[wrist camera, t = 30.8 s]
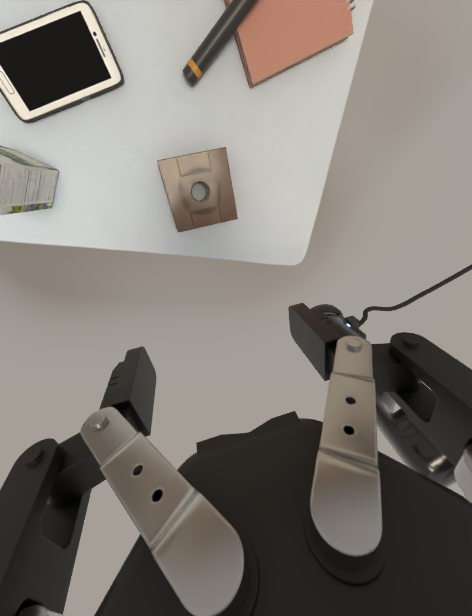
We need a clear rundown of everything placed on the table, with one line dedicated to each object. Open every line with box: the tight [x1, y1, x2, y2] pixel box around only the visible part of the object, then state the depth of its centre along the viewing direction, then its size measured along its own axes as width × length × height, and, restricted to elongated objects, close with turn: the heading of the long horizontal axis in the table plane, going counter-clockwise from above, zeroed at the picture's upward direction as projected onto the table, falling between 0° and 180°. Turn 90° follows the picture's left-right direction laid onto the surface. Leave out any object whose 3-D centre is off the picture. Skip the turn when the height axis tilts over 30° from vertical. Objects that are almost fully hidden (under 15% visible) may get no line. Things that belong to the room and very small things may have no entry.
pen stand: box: [157, 147, 238, 232], centre depth 38 cm, size 10×10×4 cm
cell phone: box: [0, 0, 124, 123], centre depth 30 cm, size 8×15×1 cm, turn 111°
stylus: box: [183, 0, 258, 86], centre depth 30 cm, size 2×2×14 cm
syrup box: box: [0, 146, 58, 215], centre depth 28 cm, size 6×6×14 cm
